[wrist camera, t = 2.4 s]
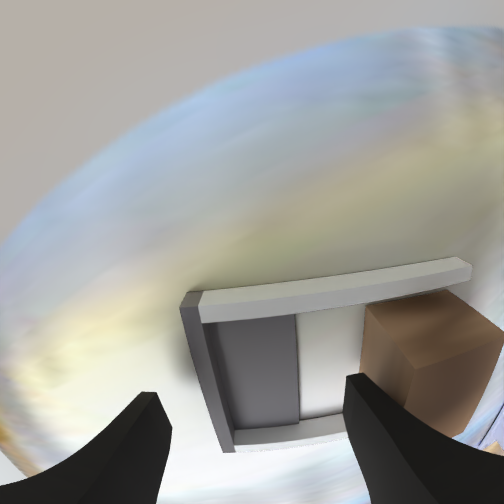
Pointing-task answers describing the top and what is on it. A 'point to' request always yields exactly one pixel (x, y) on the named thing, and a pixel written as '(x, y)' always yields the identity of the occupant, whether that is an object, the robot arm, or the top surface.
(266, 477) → the top surface
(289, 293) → the channel
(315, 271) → the top surface
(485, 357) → the walnut block
